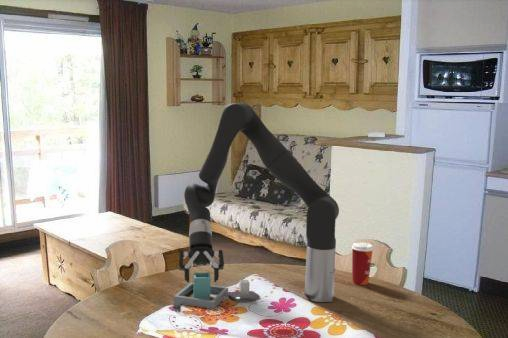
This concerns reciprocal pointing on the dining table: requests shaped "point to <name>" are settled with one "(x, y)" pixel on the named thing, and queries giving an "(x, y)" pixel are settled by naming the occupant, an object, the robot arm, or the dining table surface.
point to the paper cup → (361, 262)
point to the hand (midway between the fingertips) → (201, 281)
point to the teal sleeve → (201, 286)
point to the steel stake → (243, 293)
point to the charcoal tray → (181, 298)
